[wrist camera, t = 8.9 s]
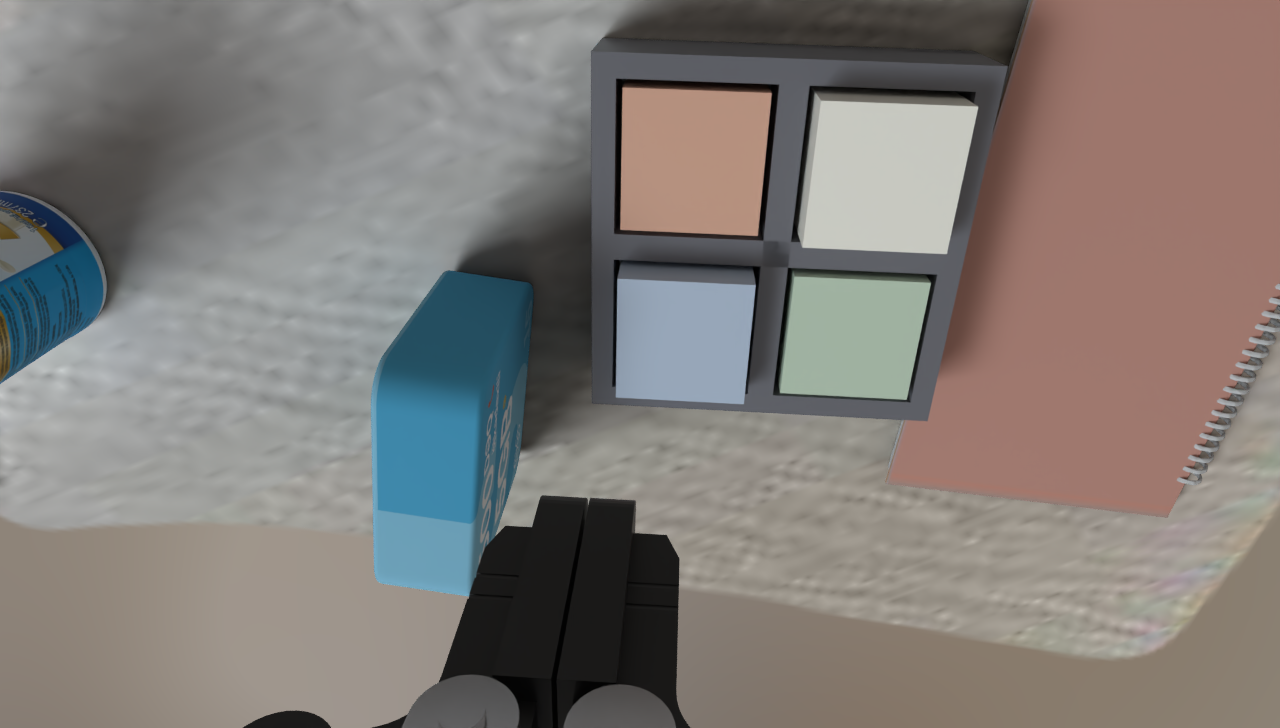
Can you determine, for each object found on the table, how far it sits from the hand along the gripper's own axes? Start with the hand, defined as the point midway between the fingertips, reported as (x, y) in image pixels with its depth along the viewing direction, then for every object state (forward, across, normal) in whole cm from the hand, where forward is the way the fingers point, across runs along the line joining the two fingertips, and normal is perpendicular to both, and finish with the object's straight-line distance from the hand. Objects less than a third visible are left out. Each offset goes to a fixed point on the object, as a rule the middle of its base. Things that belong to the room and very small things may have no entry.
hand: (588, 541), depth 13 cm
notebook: (+30, -23, +6) cm, 38 cm away
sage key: (+28, -9, +8) cm, 30 cm away
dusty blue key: (+26, -2, +8) cm, 28 cm away
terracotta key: (+28, -2, 0) cm, 28 cm away
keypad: (+29, -6, +4) cm, 30 cm away
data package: (+29, +9, +13) cm, 33 cm away
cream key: (+26, -9, 0) cm, 28 cm away
